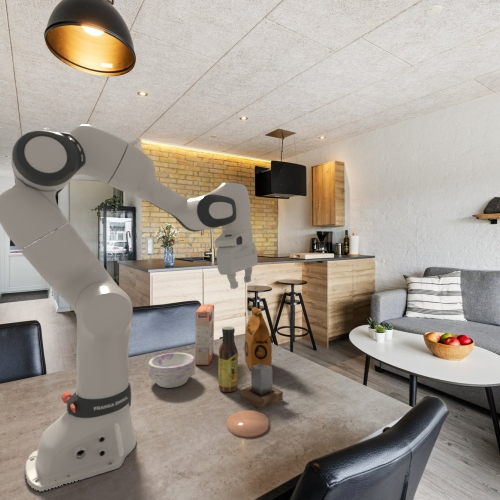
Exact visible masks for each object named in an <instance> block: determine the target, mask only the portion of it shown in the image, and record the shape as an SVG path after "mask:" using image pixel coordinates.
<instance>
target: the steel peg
mask: <svg viewBox="0 0 500 500" xmlns="http://www.w3.org/2000/svg"><path fill="white" fill-rule="evenodd" d="M250 371H251V374H250V375H251V379H250V380H251V381H250V386H251V392H252V393H254V394H256V395H257V396H259V397H264V396H266V395H268V394H271V393H272V387H273V366H272V367H271V366H269V365H266V364H264V363H260V364H257V365H254V366H251V370H250Z"/></svg>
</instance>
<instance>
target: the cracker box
mask: <svg viewBox="0 0 500 500" xmlns="http://www.w3.org/2000/svg"><path fill="white" fill-rule="evenodd" d="M194 329H195V330H194V331H195V336H194V337H195V338H194V339H195V342H194V343H195V346H194V348H195V350H194V352H195V353H194V356H195V357H194V359H195V362H194V363H195V364H194V365H195V366H210V363H211V361H212V359H213V354H214V348H215V347H214V346H215V345H214V342H215V339H214V337H215V305H214V304H201V305H199V307H198V308H197V310H195V328H194Z"/></svg>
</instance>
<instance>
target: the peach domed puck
mask: <svg viewBox="0 0 500 500" xmlns="http://www.w3.org/2000/svg"><path fill="white" fill-rule="evenodd" d="M269 424H270V423H269V418H268V417H267V416H266V415H265V414H263V413H261V412H260V411H256V410H240V411H237V412H234V413H232V414H231V415H229V417H228V418H227V421H226V428H227V430H228V431H229V432H230V433H231V434H233V435H234V436H237V437H241V438H254V437H255V438H256V437H259V436H261V435H264V434H265V433H266V432H267V431H268V428H269Z"/></svg>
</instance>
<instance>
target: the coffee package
mask: <svg viewBox="0 0 500 500" xmlns="http://www.w3.org/2000/svg"><path fill="white" fill-rule="evenodd" d="M251 312H252V314H251V316H250V318H248V321H247V323H246V325H245V331H244V333H245V335H244V348H243V350H244V358H245V359H244V360H245V363H246V365H247V367H248V368H249V370H250V371H251V366H254V365H257V364H260V363H264V364H266V365H269V366H271V367H272V368H273V366H272V365H273V362H272V361H273V360H272V359H273V357H272V355H273V354H272V353H273V351H272V350H273V348H272V341H271V335H270V331H269V327H268V325H267V323H266V321H265V318H264V316H263V313H262V310H261V309H259V308H258V307H256V306H254V307H252V308H251Z"/></svg>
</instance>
